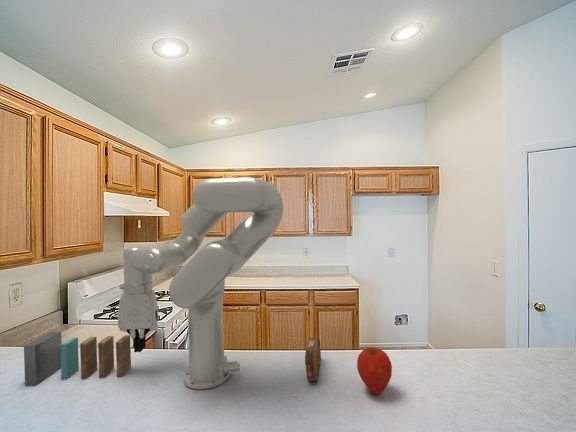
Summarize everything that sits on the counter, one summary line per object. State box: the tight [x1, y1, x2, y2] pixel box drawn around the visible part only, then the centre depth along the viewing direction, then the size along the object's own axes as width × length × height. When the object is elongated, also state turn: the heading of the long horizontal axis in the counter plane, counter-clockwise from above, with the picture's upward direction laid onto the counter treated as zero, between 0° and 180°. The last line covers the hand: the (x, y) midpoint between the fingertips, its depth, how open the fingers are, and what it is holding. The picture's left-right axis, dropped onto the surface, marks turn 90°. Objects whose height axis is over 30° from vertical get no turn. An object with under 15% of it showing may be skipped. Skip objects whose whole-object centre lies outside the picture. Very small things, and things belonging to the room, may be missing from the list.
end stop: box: [23, 331, 63, 387], centre depth 88 cm, size 3×10×11 cm, turn 2°
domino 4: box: [115, 334, 132, 378], centre depth 88 cm, size 2×5×10 cm, turn 2°
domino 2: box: [79, 336, 98, 380], centre depth 88 cm, size 2×5×10 cm, turn 2°
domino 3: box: [97, 335, 115, 379], centre depth 88 cm, size 2×5×10 cm, turn 2°
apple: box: [356, 347, 393, 395], centre depth 75 cm, size 9×8×11 cm
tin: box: [304, 336, 322, 382], centre depth 85 cm, size 15×3×8 cm, turn 168°
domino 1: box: [60, 336, 80, 381], centre depth 88 cm, size 2×5×10 cm, turn 2°
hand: (139, 350), depth 89 cm, fingers closed
